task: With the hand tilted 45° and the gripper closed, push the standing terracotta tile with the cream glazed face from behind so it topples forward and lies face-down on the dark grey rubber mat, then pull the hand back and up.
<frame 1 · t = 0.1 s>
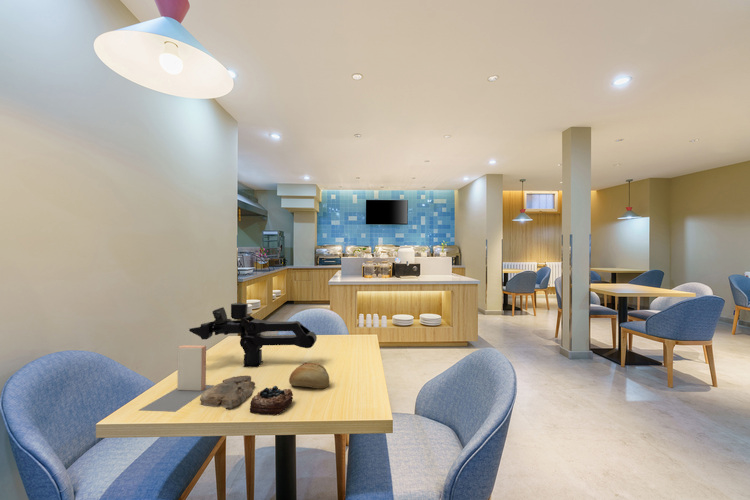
hand: (195, 327, 139), 17 cm above the table, tool horizontal, fingers open, 9 cm apart
flat grey rock: (232, 396, 108), on the table
mat: (179, 398, 106), on the table
bread roll: (309, 386, 116), on the table
pastry: (271, 407, 99), on the table
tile: (191, 389, 112), resting on mat
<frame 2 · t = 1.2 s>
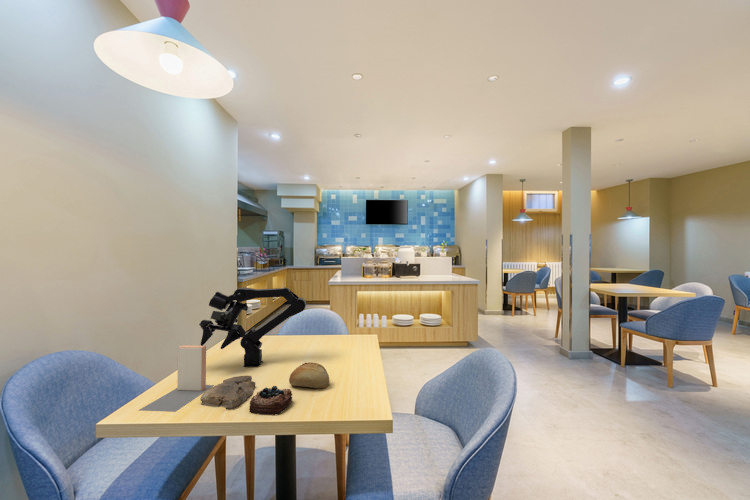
hand: (211, 347, 126), 12 cm above the table, tool tilted 45°, fingers open, 9 cm apart
nothing on the table moved.
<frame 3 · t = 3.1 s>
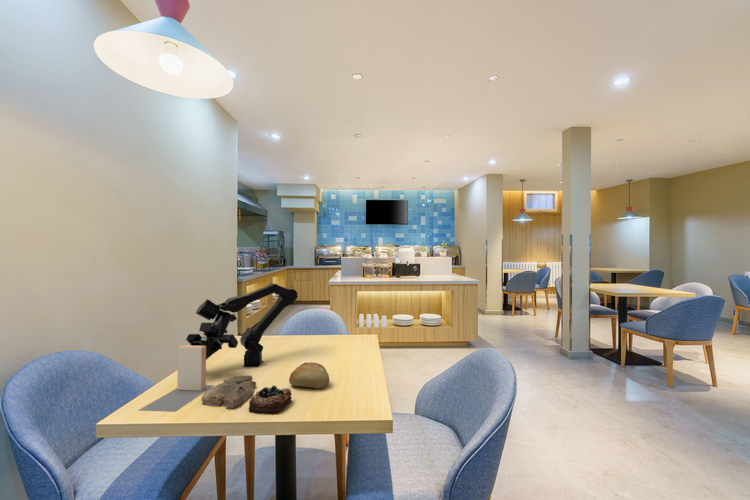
hand: (202, 360, 118), 8 cm above the table, tool tilted 45°, fingers closed
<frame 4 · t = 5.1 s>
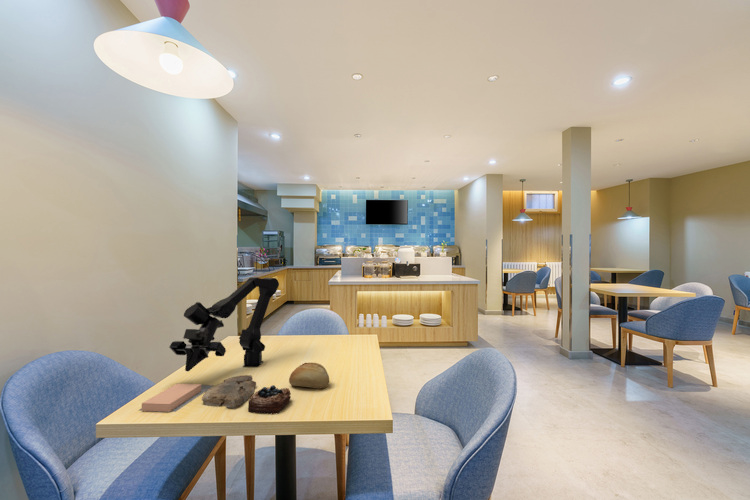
hand: (186, 370, 109), 8 cm above the table, tool tilted 45°, fingers closed
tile: (188, 387, 110), point 2 cm above the table, tilted 90°, touching mat
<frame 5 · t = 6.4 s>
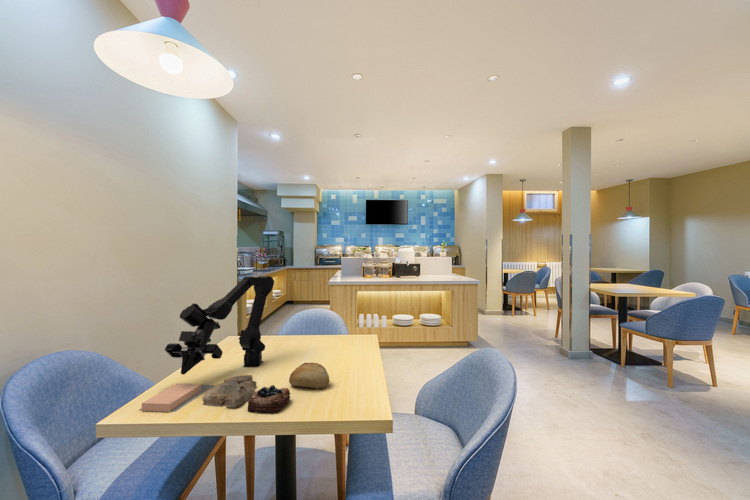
hand: (182, 373, 107), 8 cm above the table, tool tilted 45°, fingers closed
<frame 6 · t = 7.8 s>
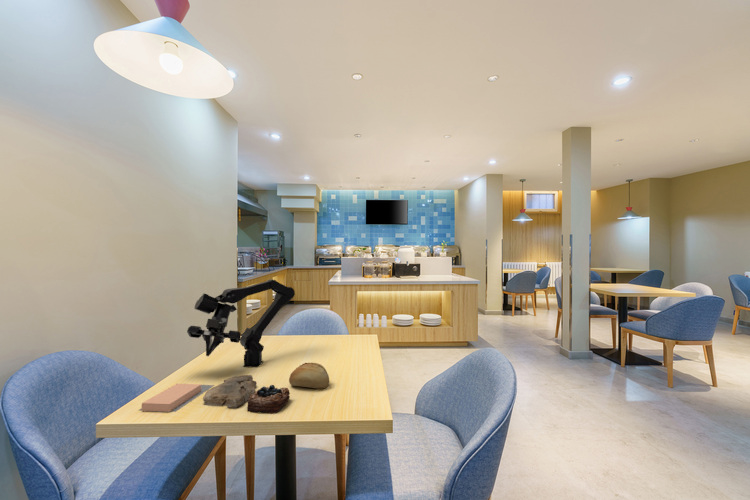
hand: (207, 355, 120), 10 cm above the table, tool tilted 35°, fingers closed
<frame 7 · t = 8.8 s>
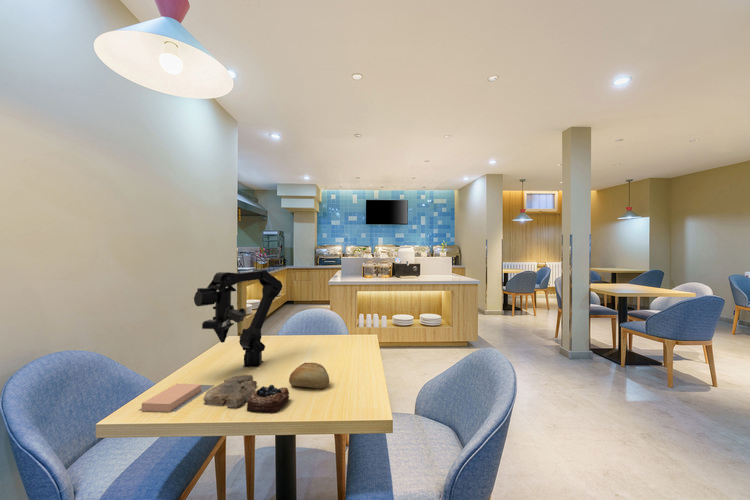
hand: (222, 342, 127), 13 cm above the table, tool pointing down, fingers closed
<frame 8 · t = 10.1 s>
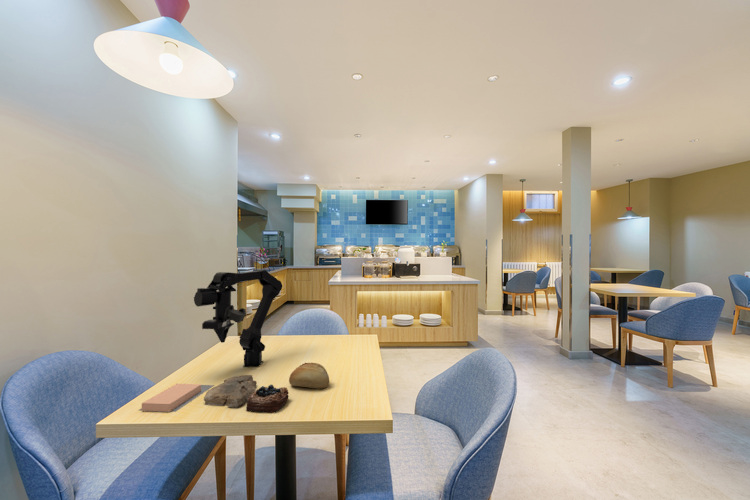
hand: (222, 342, 127), 13 cm above the table, tool pointing down, fingers closed
at the end: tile tilted 90°; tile touching mat; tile inside the target area on the mat (1.6 cm from its centre), point 1.8 cm above the mat's base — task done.
